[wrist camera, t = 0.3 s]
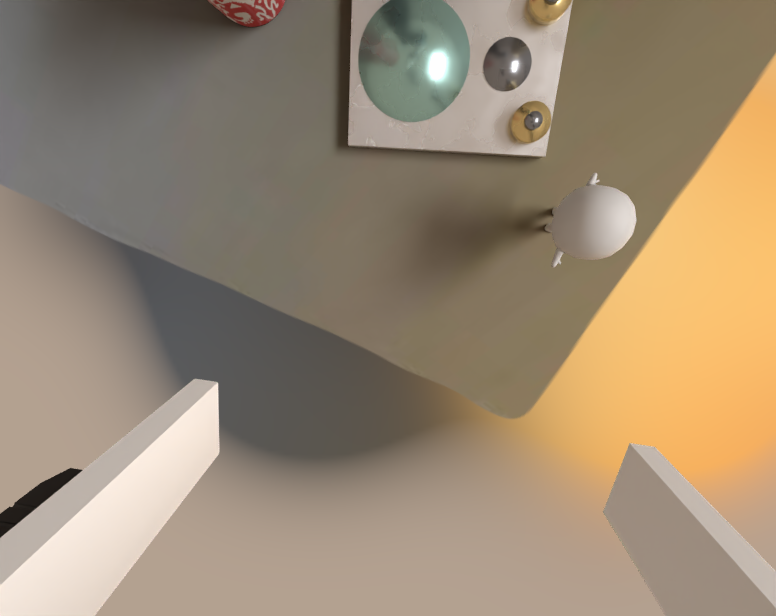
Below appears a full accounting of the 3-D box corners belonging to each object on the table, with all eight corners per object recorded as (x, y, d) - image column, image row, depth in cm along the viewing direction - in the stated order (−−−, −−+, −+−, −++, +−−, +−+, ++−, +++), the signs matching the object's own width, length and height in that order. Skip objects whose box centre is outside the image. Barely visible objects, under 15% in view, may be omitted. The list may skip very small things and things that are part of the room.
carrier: (355, -33, 30) (349, -58, 27) (572, -26, 29) (589, -50, 27) (350, 146, 34) (344, 141, 31) (540, 157, 33) (552, 153, 31)
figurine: (554, 265, 36) (620, 294, 25) (504, 248, 36) (547, 270, 25) (591, 185, 34) (683, 176, 22) (538, 167, 34) (602, 149, 22)
